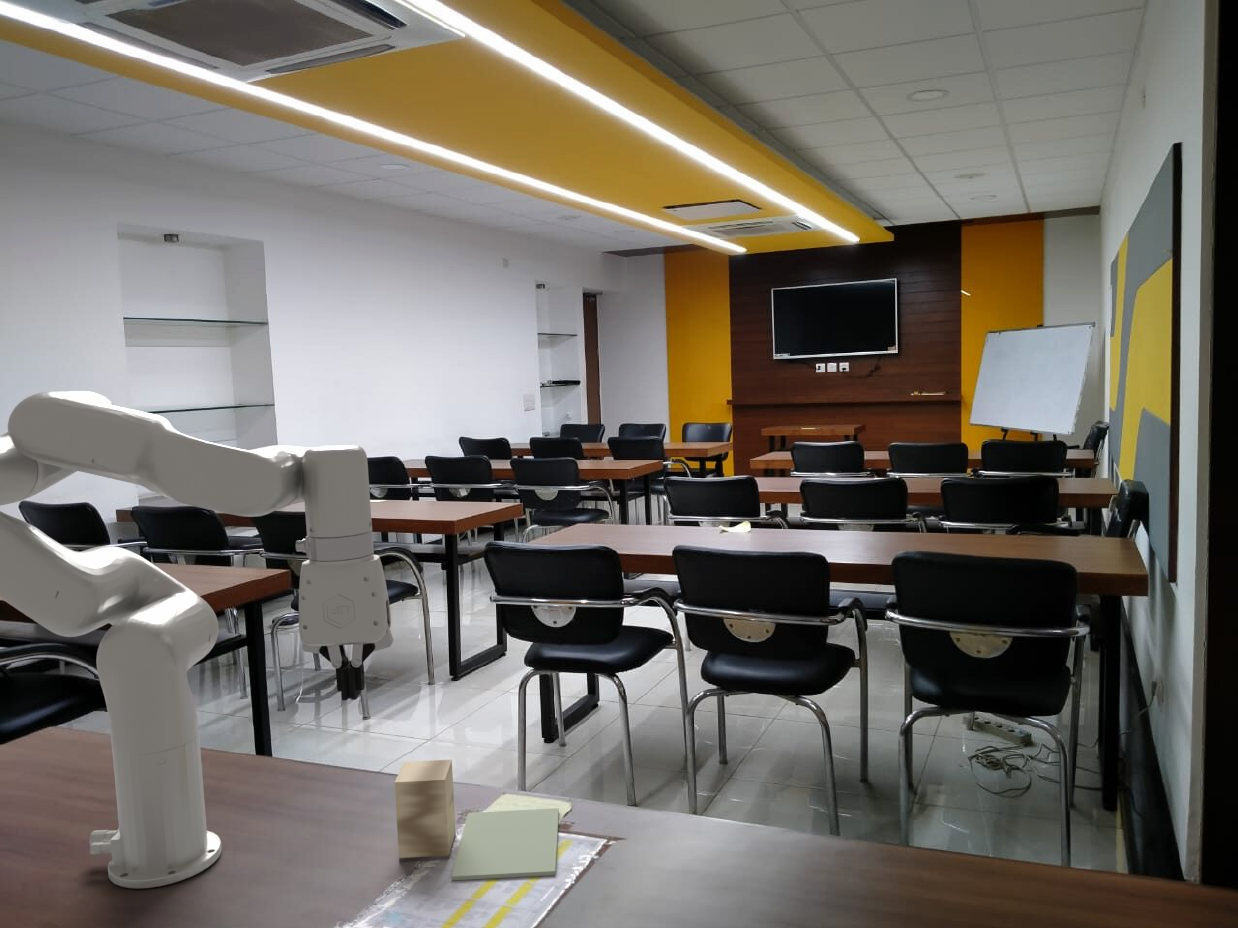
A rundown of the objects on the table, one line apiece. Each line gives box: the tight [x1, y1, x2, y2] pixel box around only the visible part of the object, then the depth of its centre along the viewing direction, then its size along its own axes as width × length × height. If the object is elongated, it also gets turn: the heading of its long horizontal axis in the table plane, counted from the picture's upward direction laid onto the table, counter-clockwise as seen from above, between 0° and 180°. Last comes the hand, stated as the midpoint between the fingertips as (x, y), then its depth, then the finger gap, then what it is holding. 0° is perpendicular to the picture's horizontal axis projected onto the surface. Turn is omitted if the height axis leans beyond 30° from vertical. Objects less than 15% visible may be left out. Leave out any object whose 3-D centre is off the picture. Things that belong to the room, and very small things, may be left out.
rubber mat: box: [451, 807, 560, 881], centre depth 118 cm, size 12×16×1 cm
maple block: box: [394, 759, 457, 863], centre depth 117 cm, size 6×6×10 cm
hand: (351, 695), depth 115 cm, fingers closed
